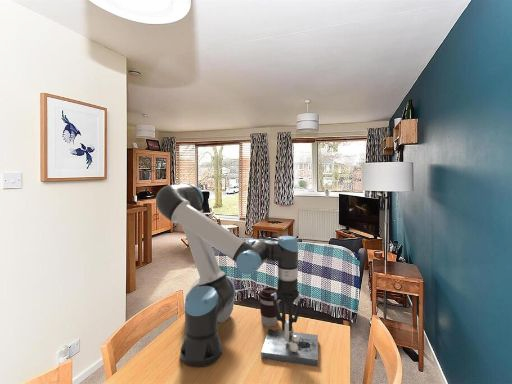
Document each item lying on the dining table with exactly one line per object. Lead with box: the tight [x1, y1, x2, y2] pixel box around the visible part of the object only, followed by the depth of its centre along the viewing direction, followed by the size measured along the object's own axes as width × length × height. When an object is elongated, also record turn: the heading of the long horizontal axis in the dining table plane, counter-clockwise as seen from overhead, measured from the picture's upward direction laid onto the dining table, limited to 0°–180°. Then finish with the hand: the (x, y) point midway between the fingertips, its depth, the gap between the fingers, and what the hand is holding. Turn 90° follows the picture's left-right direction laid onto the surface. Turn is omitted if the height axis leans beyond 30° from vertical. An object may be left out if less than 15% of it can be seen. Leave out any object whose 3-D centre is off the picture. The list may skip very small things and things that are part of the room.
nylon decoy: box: [290, 343, 298, 352], centre depth 107 cm, size 3×3×3 cm
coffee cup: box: [258, 286, 281, 327], centre depth 131 cm, size 10×10×15 cm
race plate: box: [260, 328, 319, 368], centre depth 112 cm, size 20×16×2 cm
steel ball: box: [292, 335, 300, 344], centre depth 111 cm, size 3×3×3 cm
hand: (286, 338), depth 112 cm, fingers closed
